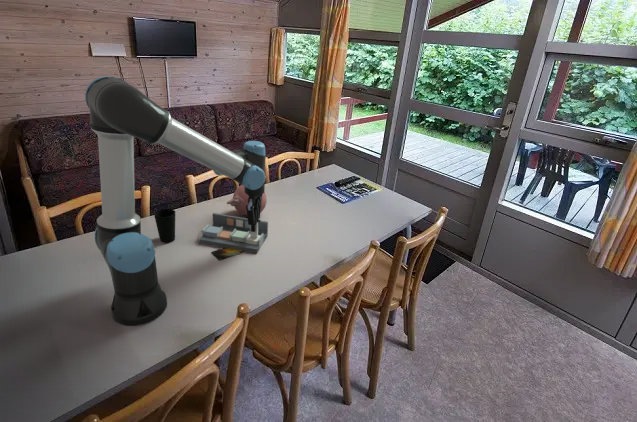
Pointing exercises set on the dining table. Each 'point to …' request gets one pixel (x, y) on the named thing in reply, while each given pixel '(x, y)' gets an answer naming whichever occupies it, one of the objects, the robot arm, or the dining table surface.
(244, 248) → the keypad
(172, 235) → the cup
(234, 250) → the smartphone
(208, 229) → the key slate
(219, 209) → the dining table surface
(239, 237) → the key sage
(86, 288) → the dining table surface
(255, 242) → the key cream
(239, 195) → the balloon
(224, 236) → the key terracotta
